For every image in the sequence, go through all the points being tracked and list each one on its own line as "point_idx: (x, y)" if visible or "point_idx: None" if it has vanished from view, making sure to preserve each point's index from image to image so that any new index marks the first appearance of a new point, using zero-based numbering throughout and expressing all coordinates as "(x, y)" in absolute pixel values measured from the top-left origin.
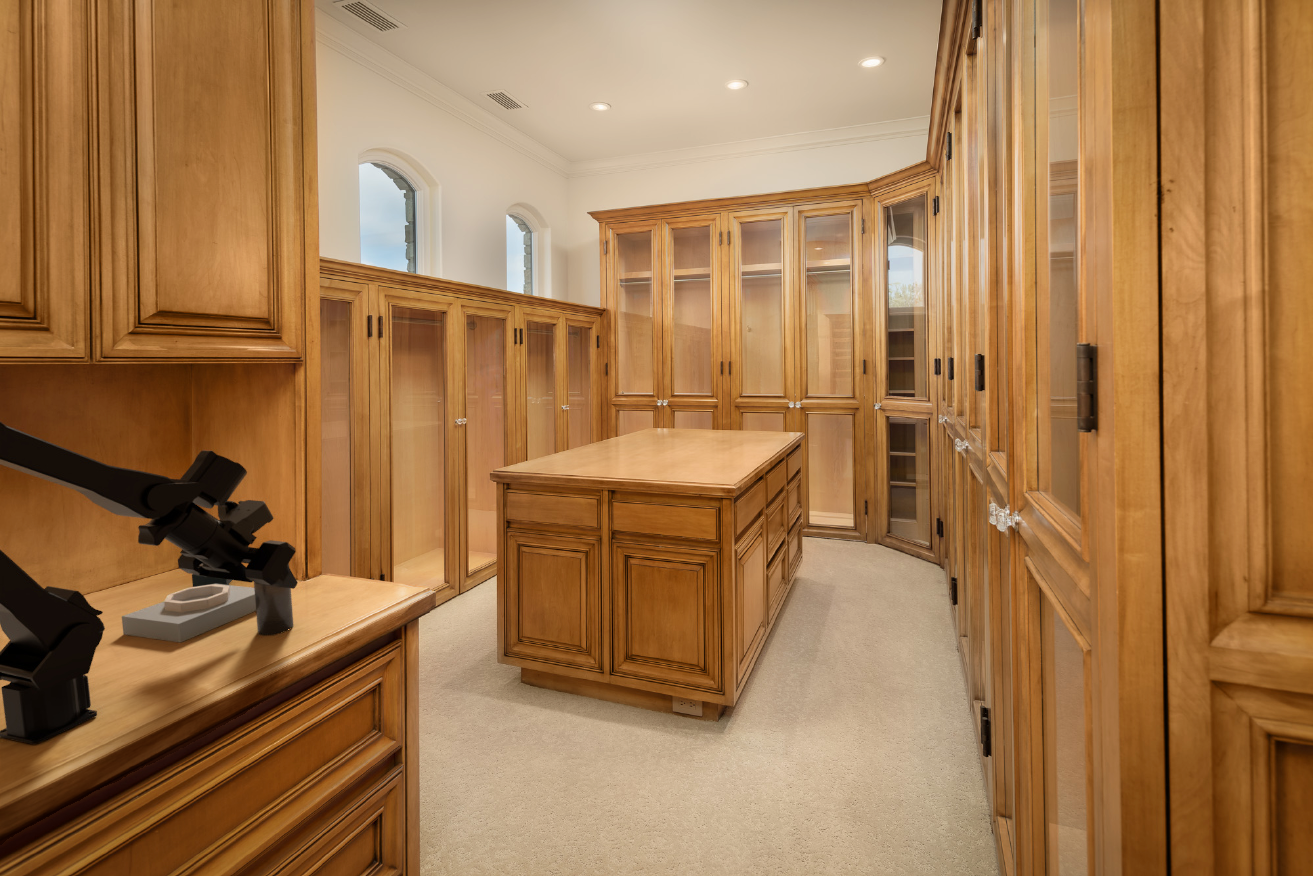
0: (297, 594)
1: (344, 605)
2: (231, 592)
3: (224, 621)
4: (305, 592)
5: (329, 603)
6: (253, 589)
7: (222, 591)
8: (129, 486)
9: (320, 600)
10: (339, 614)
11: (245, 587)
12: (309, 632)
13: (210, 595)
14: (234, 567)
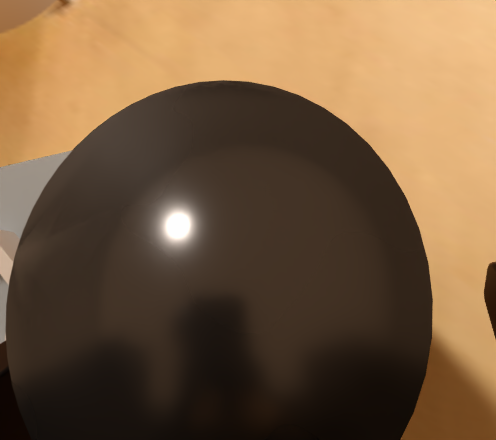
0: (130, 73)
1: (355, 53)
2: (6, 218)
3: None
4: (139, 53)
5: (287, 67)
6: (47, 169)
7: (4, 278)
8: None
9: (236, 67)
10: (419, 110)
11: (12, 169)
12: (481, 276)
13: None
14: (12, 428)
